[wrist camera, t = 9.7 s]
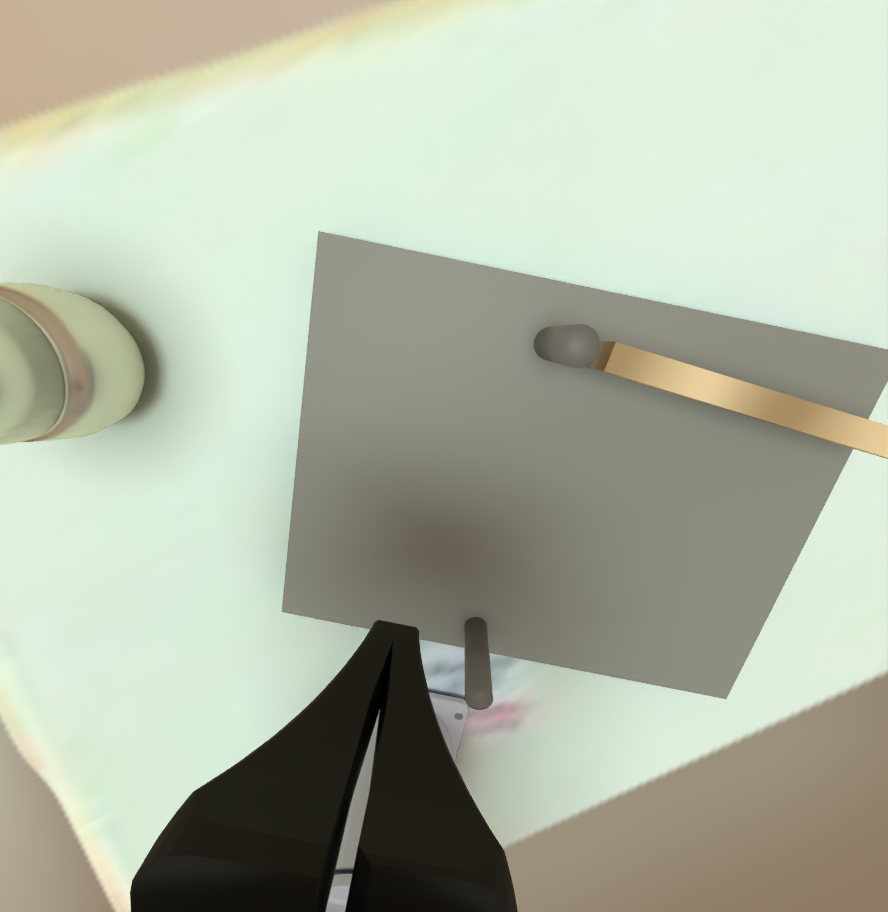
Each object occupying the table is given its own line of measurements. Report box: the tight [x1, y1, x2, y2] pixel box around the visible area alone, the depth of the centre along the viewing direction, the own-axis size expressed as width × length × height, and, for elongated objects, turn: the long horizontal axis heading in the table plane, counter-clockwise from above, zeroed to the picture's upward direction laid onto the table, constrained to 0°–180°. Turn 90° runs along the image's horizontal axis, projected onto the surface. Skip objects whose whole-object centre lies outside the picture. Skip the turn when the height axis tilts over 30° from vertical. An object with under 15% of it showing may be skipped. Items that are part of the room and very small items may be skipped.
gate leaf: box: [585, 341, 888, 459], centre depth 16 cm, size 13×1×4 cm, turn 74°
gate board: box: [282, 231, 888, 710], centre depth 18 cm, size 19×25×6 cm
